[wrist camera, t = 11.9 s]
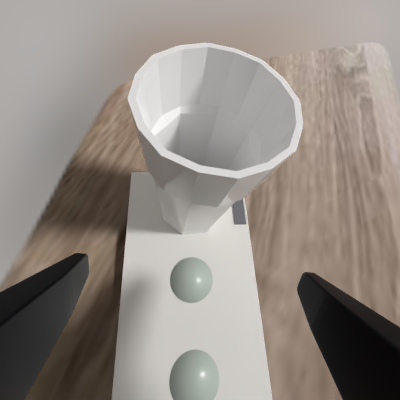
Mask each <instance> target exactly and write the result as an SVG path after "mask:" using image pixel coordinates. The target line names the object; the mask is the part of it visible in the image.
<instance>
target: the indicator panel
mask: <svg viewBox="0 0 400 400" xmlns="http://www.w3.org/2000/svg"><path fill="white" fill-rule="evenodd" d="M112 400H272V393H271V386H270V379H269V372H268V365H267V357H266V350H265V343H264V336H263V328H262V321H261V314H260V307H259V299H258V292H257V285H256V278H255V270H254V263H253V256H252V249H251V242H250V234H249V227H248V220H247V213H246V205H245V198H243V199H242V200H239V201H236V202H235V203H234V204H233V205H232V206H231V207H230V208H229V209H228V210H227V211H226V212H225V213H224V214H223V215H222V216H221V217H220V218H219V219H218V220H217V221H216V222H215V223H214V224H213V225H212V226H211V227H210V229H209V230H208V231H207V232H203V233H193V234H184V235H182V234H181V233H180V232H178V231H177V230H176V229H175V228H173V227H172V226H171V225H170V224H168V223H167V222H166V221H164V220H163V215H162V211H161V207H160V202H159V198H158V194H157V190H156V186H155V182H154V178H153V176H152V175H151V174H150V173H146V172H132V173H131V185H130V196H129V207H128V219H127V230H126V242H125V253H124V264H123V276H122V287H121V299H120V310H119V321H118V333H117V344H116V356H115V367H114V378H113V390H112Z"/></svg>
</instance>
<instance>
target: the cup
mask: <svg viewBox="0 0 400 400" xmlns="http://www.w3.org/2000/svg"><path fill="white" fill-rule="evenodd" d="M128 103H129V106H130V110H131V114H132V117H133V121H134V125H135V128H136V132H137V136H138V139H139V143H140V147H141V150H142V153H143V156H144V159H145V162H146V165H147V168H148V171H149V173H150V174H151V175H152V176H153V178H154V182H155V186H156V190H157V194H158V198H159V202H160V207H161V211H162V215H163V220H164V221H166V222H167V223H168V224H170V225H171V226H172V227H173V228H175V229H176V230H177V231H178V232H180V233H181V234H182V235H184V234H193V233H203V232H207V231H208V230H209V229H210V227H211V226H212V225H213V224H214V223H215V222H216V221H217V220H218V219H219V218H220V217H221V216H222V215H223V214H224V213H225V212H226V211H227V210H228V209H229V208H230V207H231V206H232V205H233V204H234V203H235V202H236V201H239V200H242V199H243V198H244V197H246V196H247V195H248V194H249V193H251V192H252V191H253V190H255V189H256V188H257V187H258V186H260V185H261V184H262V183H263V182H264V181H265V180H266V179H267V178H268V177H269V176H270V175H271V174H272V173H273V172H274V171H275V170H276V169H277V168H278V167H280V166H281V165H282V164H283V163H284V162H285V161H286V160H287V159H288V158H289V157H290V156H291V155H292V154H293V153H294V152H295V151H296V149H297V146H298V142H299V139H300V135H301V132H302V128H303V120H302V112H301V105H300V100H299V99H298V97H297V96H296V95H295V93H294V92H293V90H292V89H291V87H290V86H289V85H288V83H287V82H286V80H285V79H284V78H283V77H282V76H281V75H279V74H278V73H277V72H276V71H275V70H274V69H273V68H271V67H270V66H269V65H268V64H267V63H266V62H264V61H263V60H261V59H259V58H256V57H254V56H252V55H249V54H247V53H245V52H242V51H240V50H238V49H235V48H230V47H225V46H221V45H216V44H211V43H198V44H188V45H178V46H176V47H173V48H170V49H167V50H165V51H162V52H159V53H156V54H154V55H152V56H151V57H150V58H149V59H148V61H147V62H146V63H145V64H144V65H143V66H142V67H141V68H140V69H139V71H138V72H137V73H136V74H135V77H134V80H133V83H132V86H131V89H130V93H129V96H128Z"/></svg>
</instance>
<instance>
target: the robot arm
mask: <svg viewBox="0 0 400 400" xmlns="http://www.w3.org/2000/svg"><path fill="white" fill-rule="evenodd" d="M88 274H89V263H88V255H87V254H82V253H75V254H73V255H71V256H69V257H67V258H65V259H63V260H62V261H60V262H58V263H56V264H54V265H52V266H50V267H48V268H46V269H44V270H42V271H40V272H38V273H36V274H34V275H33V276H31V277H29V278H27V279H25V280H23V281H21V282H19V283H17V284H15V285H13V286H11V287H9V288H7V289H6V290H4V291H2V292H0V400H24V399H25V398H26V396H27V394H28V392H29V390H30V389H31V387H32V385H33V383H34V381H35V380H36V378H37V376H38V374H39V372H40V371H41V369H42V367H43V365H44V363H45V362H46V360H47V358H48V356H49V354H50V353H51V351H52V349H53V347H54V345H55V344H56V342H57V340H58V338H59V336H60V335H61V333H62V331H63V329H64V328H65V326H66V324H67V322H68V320H69V318H70V316H71V315H72V312H73V310H74V308H75V306H76V303H77V301H78V299H79V296H80V294H81V292H82V289H83V287H84V284H85V282H86V280H87V277H88ZM297 291H298V295H299V298H300V301H301V303H302V306H303V309H304V312H305V315H306V318H307V320H308V323H309V326H310V328H311V331H312V333H313V335H314V338H315V340H316V342H317V344H318V346H319V348H320V351H321V353H322V355H323V357H324V359H325V362H326V364H327V366H328V368H329V370H330V373H331V375H332V377H333V379H334V381H335V384H336V386H337V388H338V390H339V392H340V395H341V397H342V399H343V400H400V327H398V326H397V325H395V324H394V323H392V322H390V321H389V320H387V319H386V318H384V317H383V316H381V315H379V314H378V313H376V312H375V311H373V310H372V309H370V308H368V307H367V306H365V305H364V304H362V303H361V302H359V301H357V300H356V299H354V298H353V297H351V296H349V295H348V294H346V293H345V292H343V291H342V290H340V289H338V288H337V287H335V286H334V285H332V284H331V283H329V282H327V281H326V280H324V279H323V278H321V277H320V276H318V275H316V274H315V273H309V272H305V273H303V274H302V276H301V279H300V282H299V284H298V287H297Z"/></svg>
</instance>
